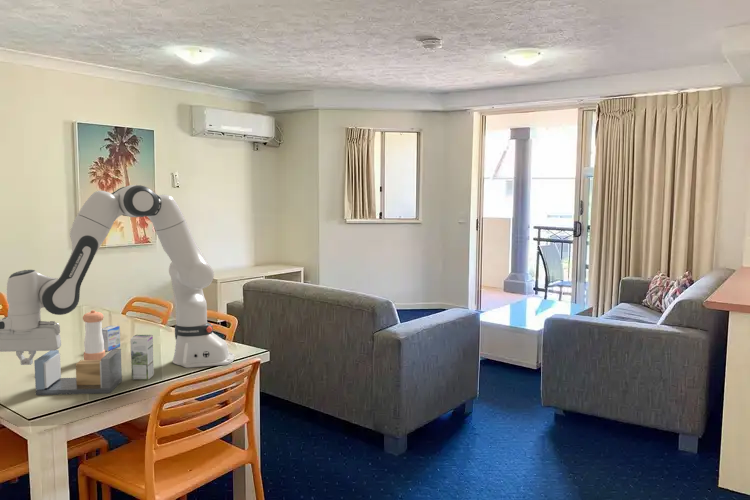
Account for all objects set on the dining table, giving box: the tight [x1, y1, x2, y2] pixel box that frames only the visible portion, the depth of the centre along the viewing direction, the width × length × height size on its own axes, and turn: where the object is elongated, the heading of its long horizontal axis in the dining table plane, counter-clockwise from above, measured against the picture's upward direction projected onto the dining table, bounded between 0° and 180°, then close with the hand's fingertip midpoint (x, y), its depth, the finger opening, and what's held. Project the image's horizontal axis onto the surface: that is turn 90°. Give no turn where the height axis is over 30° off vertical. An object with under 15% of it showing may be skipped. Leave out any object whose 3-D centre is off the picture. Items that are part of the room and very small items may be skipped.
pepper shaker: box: [82, 309, 106, 360], centre depth 216 cm, size 7×7×19 cm
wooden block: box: [75, 359, 101, 385], centre depth 187 cm, size 4×8×7 cm, turn 97°
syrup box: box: [130, 334, 155, 381], centre depth 198 cm, size 6×6×14 cm
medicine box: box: [102, 325, 121, 352], centre depth 234 cm, size 8×4×9 cm, turn 168°
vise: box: [35, 348, 123, 396], centre depth 187 cm, size 22×12×11 cm, turn 97°
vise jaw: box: [33, 349, 62, 391], centre depth 186 cm, size 3×12×9 cm, turn 7°
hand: (26, 364), depth 185 cm, fingers closed
